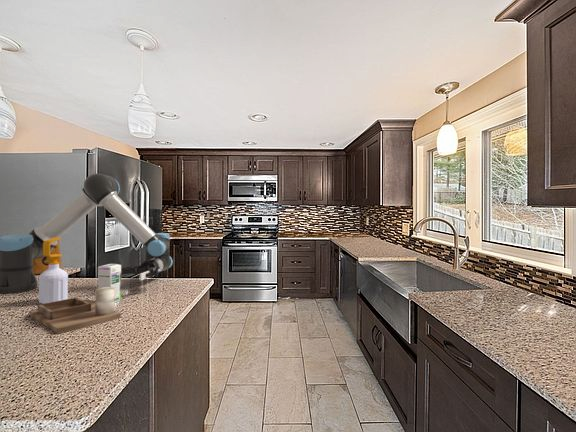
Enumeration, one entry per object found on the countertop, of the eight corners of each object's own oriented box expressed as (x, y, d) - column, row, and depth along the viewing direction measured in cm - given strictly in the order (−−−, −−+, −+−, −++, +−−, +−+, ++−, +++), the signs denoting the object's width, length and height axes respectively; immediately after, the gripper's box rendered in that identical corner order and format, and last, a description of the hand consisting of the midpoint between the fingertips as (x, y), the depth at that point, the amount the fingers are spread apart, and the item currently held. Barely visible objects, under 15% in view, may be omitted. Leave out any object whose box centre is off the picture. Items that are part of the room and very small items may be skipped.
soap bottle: (72, 299, 126) (73, 237, 126) (47, 305, 118) (48, 239, 117) (59, 296, 130) (59, 236, 129) (33, 302, 122) (34, 237, 121)
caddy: (29, 315, 108) (29, 287, 107) (87, 303, 122) (87, 278, 122) (58, 334, 93) (58, 301, 93) (120, 317, 108) (121, 289, 107)
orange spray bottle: (61, 273, 172) (62, 232, 171) (32, 276, 164) (32, 233, 163) (60, 270, 179) (60, 231, 179) (31, 272, 171) (32, 231, 171)
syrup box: (110, 304, 121) (111, 266, 121) (97, 303, 122) (97, 265, 122) (121, 300, 127) (122, 264, 126) (108, 299, 128) (109, 263, 128)
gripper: (176, 276, 154) (153, 286, 133) (127, 273, 156) (97, 283, 135) (176, 260, 154) (153, 268, 133) (127, 258, 156) (97, 265, 135)
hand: (125, 276), depth 134 cm, fingers open, 13 cm apart
